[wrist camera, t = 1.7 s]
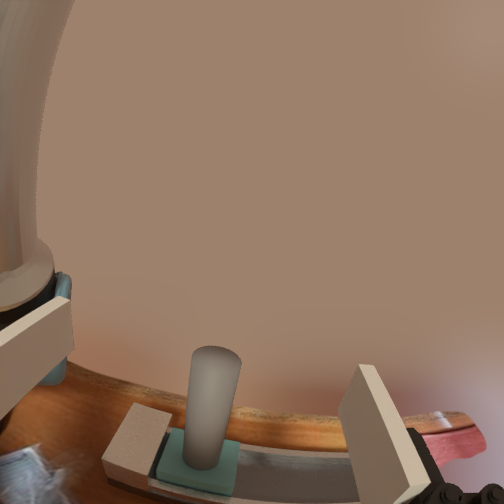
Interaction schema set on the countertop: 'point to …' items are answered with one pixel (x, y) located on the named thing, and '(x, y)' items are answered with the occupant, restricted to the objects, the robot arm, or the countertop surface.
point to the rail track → (247, 475)
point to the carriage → (205, 427)
